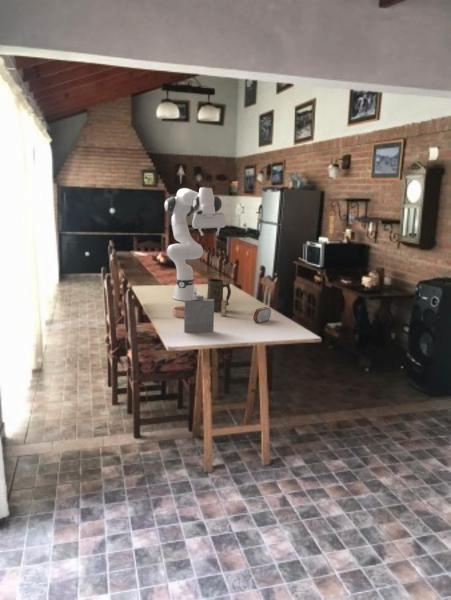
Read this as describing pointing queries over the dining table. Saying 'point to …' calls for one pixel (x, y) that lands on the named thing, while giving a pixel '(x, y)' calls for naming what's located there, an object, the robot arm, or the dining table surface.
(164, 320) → the dining table surface
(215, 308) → the beer stein
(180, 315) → the candle jar
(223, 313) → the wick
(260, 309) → the tin
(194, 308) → the hip flask
